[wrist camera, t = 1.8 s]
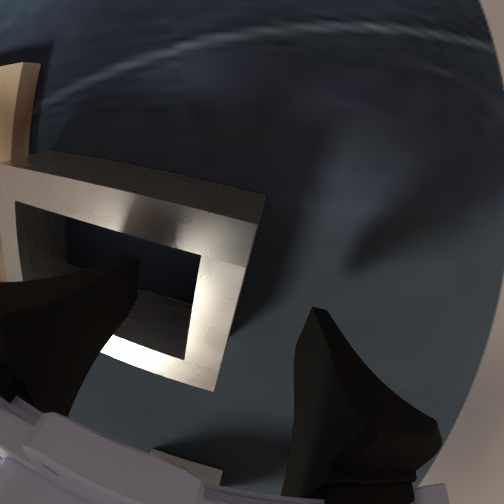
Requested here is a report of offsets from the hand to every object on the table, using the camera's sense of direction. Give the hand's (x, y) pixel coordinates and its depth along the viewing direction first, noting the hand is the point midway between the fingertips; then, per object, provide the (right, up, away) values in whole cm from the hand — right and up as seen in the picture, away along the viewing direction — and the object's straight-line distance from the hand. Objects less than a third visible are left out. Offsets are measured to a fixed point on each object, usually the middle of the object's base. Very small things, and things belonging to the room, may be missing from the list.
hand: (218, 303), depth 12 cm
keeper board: (-19, +6, +3) cm, 20 cm away
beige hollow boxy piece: (-5, +2, +3) cm, 6 cm away
